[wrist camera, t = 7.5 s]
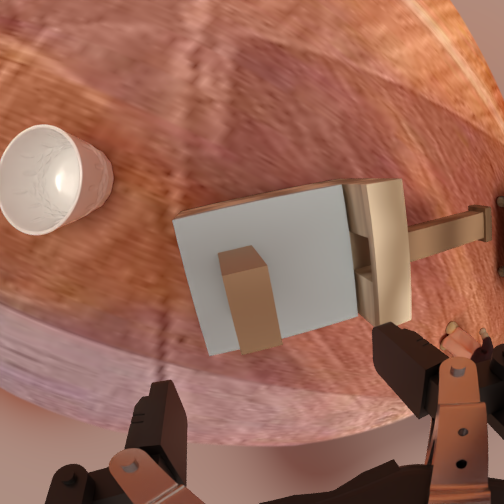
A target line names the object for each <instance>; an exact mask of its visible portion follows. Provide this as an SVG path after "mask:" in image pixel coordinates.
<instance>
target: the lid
mask: <svg viewBox="0 0 504 504" xmlns="http://www.w3.org/2000/svg"><path fill="white" fill-rule="evenodd" d="M172 221H173V225H174V229H175V233H176V238H177V242H178V246H179V250H180V254H181V258H182V261H183V265H184V269H185V273H186V277H187V280H188V284H189V288H190V291H191V295H192V299H193V302H194V306H195V309H196V313H197V316H198V320H199V323H200V327H201V330H202V333H203V337H204V340H205V343H206V347H207V350H208V353H209V356H212V355H216V354H221V353H225V352H230V351H234V350H238V349H240V350H241V354H242V355H244V354H248V353H252V352H256V351H260V350H264V349H268V348H272V347H276V346H280V345H283V343H282V338H286V337H290V336H293V335H297V334H301V333H304V332H308V331H311V330H315V329H318V328H321V327H325V326H328V325H332V324H335V323H338V322H341V321H344V320H348V319H351V318H354V317H357V316H358V311H357V299H356V288H355V278H354V269H353V260H352V251H351V243H350V236H349V228H348V221H347V215H346V208H345V202H344V195H343V189H342V185H331V186H326V187H321V188H315V189H310V190H305V191H299V192H294V193H289V194H284V195H279V196H274V197H269V198H264V199H260V200H255V201H250V202H246V203H241V204H236V205H232V206H227V207H223V208H218V209H214V210H209V211H205V212H201V213H196V214H192V215H188V216H184V217H180V218H175V219H173V220H172Z"/></svg>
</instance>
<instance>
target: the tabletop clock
mask: <svg viewBox="0 0 504 504" xmlns="http://www.w3.org/2000/svg"><path fill="white" fill-rule="evenodd" d="M497 204H498V206H499V207H504V197H503V196H500V197H498V198H497ZM498 273H499V275H500V276H501V277H504V266H501V267H500V268H499V270H498Z"/></svg>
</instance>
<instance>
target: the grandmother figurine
mask: <svg viewBox="0 0 504 504" xmlns="http://www.w3.org/2000/svg"><path fill="white" fill-rule="evenodd" d="M446 333H447V334H449V336H447V337H446V338H444V339H443V340H442V342H441V345H440V349H441V350H446V349H447V350H449V352H450V353H451V354H452V355H454V356H455V357H466V358H468V359H470V360H472V361H473V362H474V363H479V362H483V361H486V360H490V359H491V356H492V351H493V345H492V341H491V338H490V337H489V335H488V333H486V329H485V328H481V329H480V331H479V333H480V335H481V337H482V340H483V344H482V346H481V345H480V344H479V343H478V342H477V341H476V340H475V339H474V338H473V337H472V336H471V335H469V334H468V333H467V332H465V331H464V330H462V329H461V328H460V327H459V326H458V325H457V324H456V323H455V322H454V321H452V322H450V323H449V324H448V326H447V328H446Z"/></svg>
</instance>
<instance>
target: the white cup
mask: <svg viewBox="0 0 504 504" xmlns="http://www.w3.org/2000/svg"><path fill="white" fill-rule="evenodd" d="M113 181H114V176H113V170H112V165H111V162H110V161H109V160H108V158H107V157H106V156H105V154H104V153H103V152H102V151H100V150H98V149H96V148H95V147H94V146H92V145H91V144H89V143H88V142H86V141H84V140H82V139H80V138H78V137H76V136H74V135H72V134H70V133H68V132H66V131H64V130H62V129H60V128H58V127H55V126H52V125H45V124H43V125H36V126H32V127H29V128H27V129H25V130H24V131H22V132H21V133H19V134H18V135H17V136H16V137H15V138H14V139H13V140H12V141H11V142H10V144H9V145H8V147H7V148H6V150H5V151H4V153H3V155H2V158H1V160H0V208H1V210H2V212H3V214H4V216H5V217H6V219H7V220H8V221H9V223H10V224H11V225H12V226H13V227H15V228H16V229H17V230H19V231H21V232H23V233H26V234H29V235H43V234H47V233H49V232H52V231H54V230H56V229H58V228H60V227H63V226H65V225H67V224H70V223H72V222H74V221H76V220H78V219H80V218H82V217H84V216H86V215H88V214H89V213H91V212H92V211H94V210H96V209H98V208H99V207H101V206H102V205H103V204H104V202H105V201H106V199H107V198H108V197H109V195H110V194H111V190H112V185H113Z"/></svg>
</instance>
